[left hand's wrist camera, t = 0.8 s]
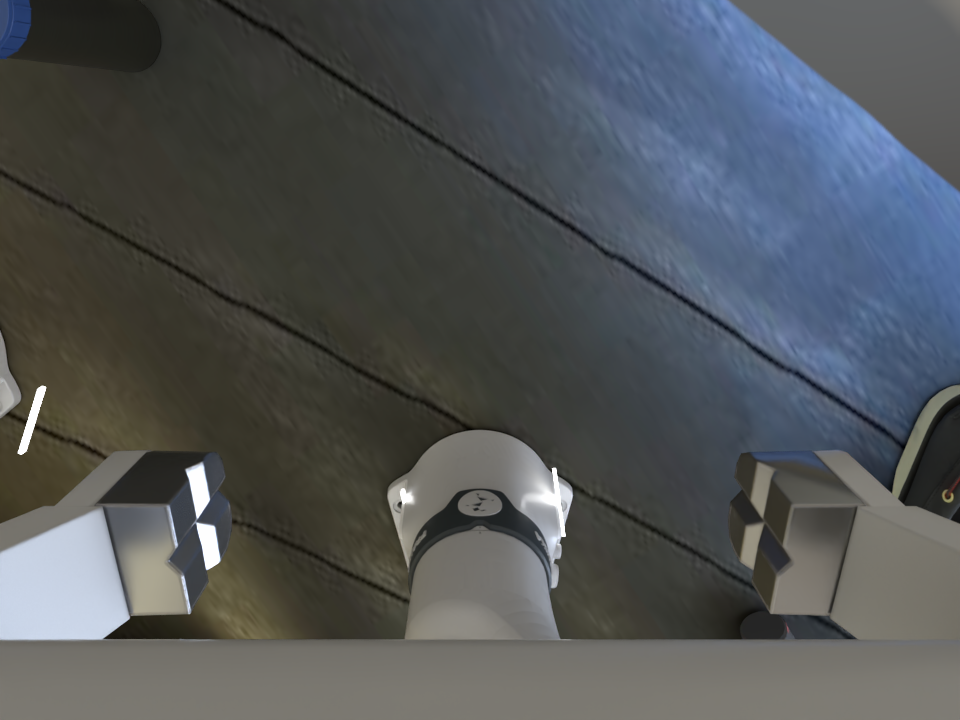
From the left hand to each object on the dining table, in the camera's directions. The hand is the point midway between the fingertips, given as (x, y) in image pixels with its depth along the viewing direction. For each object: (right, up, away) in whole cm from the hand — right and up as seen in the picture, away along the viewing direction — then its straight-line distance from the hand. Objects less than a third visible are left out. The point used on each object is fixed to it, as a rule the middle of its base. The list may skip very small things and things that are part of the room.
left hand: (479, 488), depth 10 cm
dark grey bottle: (-28, +28, +41) cm, 57 cm away
